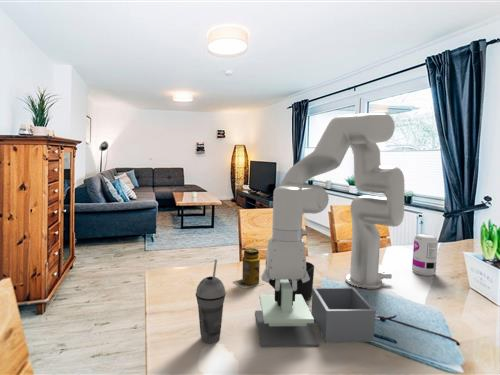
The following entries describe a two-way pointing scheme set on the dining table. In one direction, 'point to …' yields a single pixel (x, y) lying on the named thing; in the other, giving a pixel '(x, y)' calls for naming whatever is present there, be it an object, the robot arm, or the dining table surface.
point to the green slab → (285, 308)
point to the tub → (342, 314)
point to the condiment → (250, 269)
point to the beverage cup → (210, 307)
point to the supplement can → (425, 254)
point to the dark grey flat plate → (284, 334)
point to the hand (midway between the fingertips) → (284, 303)
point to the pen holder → (306, 283)
